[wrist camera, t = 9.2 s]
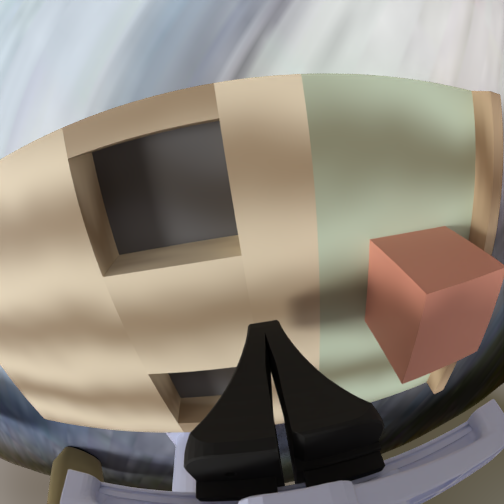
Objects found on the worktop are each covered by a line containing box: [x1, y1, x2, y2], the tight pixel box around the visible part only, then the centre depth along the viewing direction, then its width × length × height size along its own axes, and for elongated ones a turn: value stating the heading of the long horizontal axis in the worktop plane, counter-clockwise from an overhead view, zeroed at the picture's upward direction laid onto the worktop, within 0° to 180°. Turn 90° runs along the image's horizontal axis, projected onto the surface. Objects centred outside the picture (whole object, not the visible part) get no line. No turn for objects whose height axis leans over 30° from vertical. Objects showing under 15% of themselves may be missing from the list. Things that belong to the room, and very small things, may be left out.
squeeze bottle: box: [47, 447, 104, 504], centre depth 19 cm, size 8×8×18 cm
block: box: [365, 226, 504, 384], centre depth 12 cm, size 5×5×5 cm
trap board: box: [0, 74, 503, 432], centre depth 15 cm, size 22×37×4 cm, turn 98°
